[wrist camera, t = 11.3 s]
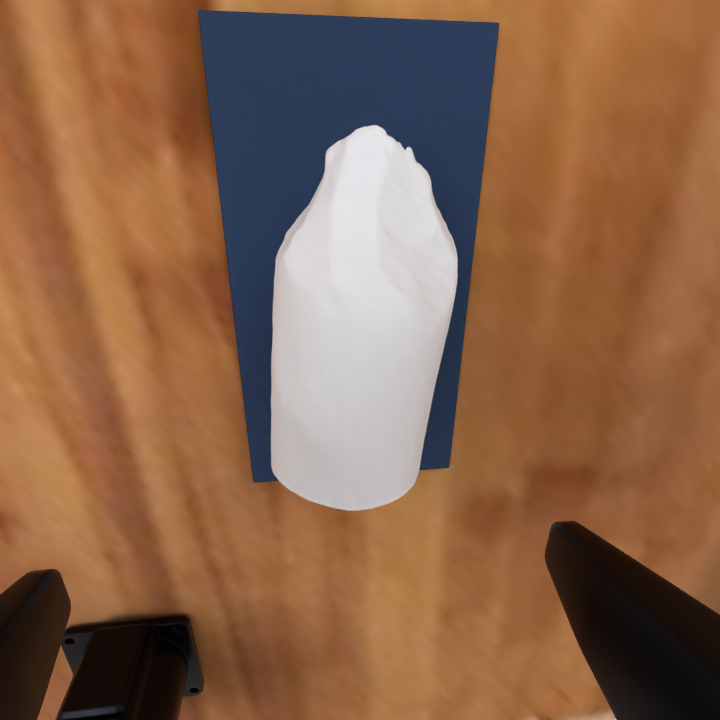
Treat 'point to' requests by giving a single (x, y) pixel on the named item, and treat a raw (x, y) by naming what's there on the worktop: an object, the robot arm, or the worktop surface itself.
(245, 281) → the cloth
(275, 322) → the white tapered cylinder
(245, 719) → the worktop surface
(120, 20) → the worktop surface
